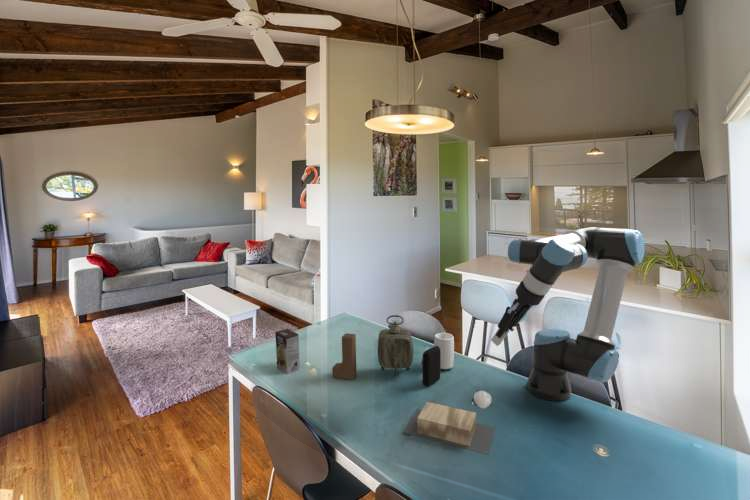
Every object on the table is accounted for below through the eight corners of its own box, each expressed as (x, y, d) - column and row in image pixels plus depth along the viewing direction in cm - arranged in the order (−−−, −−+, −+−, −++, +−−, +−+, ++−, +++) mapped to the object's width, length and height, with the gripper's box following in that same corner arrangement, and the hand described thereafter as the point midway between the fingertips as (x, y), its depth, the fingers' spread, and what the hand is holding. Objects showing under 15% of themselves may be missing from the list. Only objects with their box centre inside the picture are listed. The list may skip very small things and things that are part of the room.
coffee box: (276, 367, 167) (274, 331, 165) (289, 362, 172) (288, 328, 169) (287, 374, 161) (285, 337, 158) (300, 369, 165) (298, 333, 162)
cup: (456, 366, 166) (457, 334, 164) (449, 374, 159) (449, 341, 157) (438, 361, 171) (438, 331, 169) (430, 369, 164) (430, 337, 162)
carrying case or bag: (425, 390, 146) (425, 353, 144) (418, 387, 148) (419, 351, 146) (441, 380, 154) (442, 345, 151) (435, 378, 156) (436, 343, 153)
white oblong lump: (474, 392, 145) (474, 378, 144) (491, 394, 143) (491, 380, 142) (472, 409, 134) (473, 394, 133) (491, 412, 132) (491, 396, 131)
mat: (495, 429, 122) (495, 427, 122) (488, 456, 110) (488, 454, 110) (416, 410, 133) (416, 408, 133) (402, 433, 121) (402, 431, 120)
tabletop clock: (412, 368, 165) (412, 311, 161) (413, 378, 156) (413, 319, 152) (378, 368, 165) (377, 312, 161) (377, 378, 156) (377, 319, 152)
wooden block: (332, 377, 157) (330, 335, 155) (336, 372, 161) (335, 331, 159) (352, 380, 155) (351, 338, 152) (356, 375, 159) (355, 333, 156)
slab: (476, 412, 122) (427, 401, 128) (469, 430, 113) (417, 417, 119) (475, 427, 122) (427, 415, 129) (469, 446, 113) (417, 432, 120)
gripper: (534, 275, 118) (497, 329, 130) (511, 283, 110) (474, 339, 122) (554, 291, 114) (514, 345, 126) (533, 300, 106) (492, 357, 118)
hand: (495, 342), depth 124 cm, fingers closed
